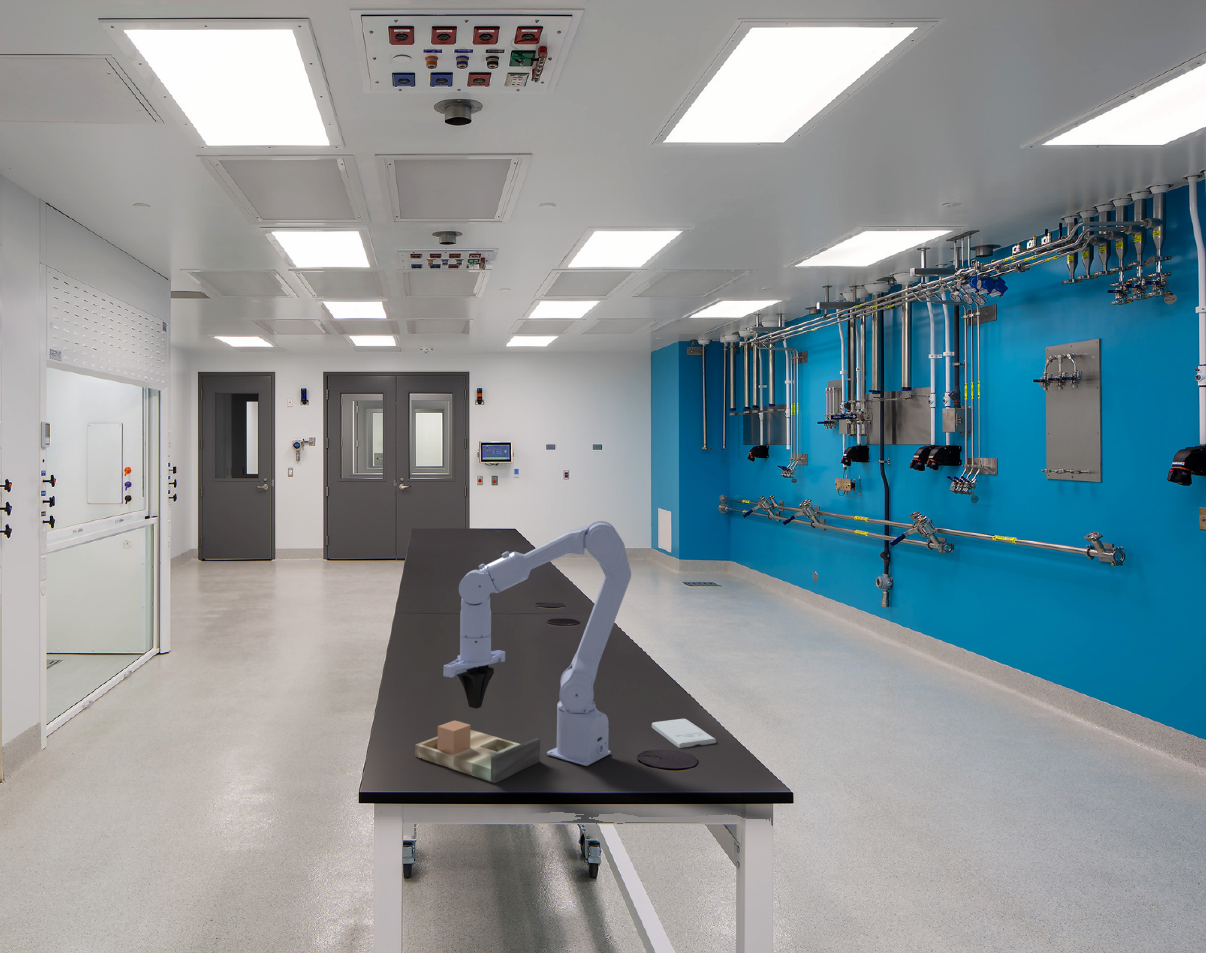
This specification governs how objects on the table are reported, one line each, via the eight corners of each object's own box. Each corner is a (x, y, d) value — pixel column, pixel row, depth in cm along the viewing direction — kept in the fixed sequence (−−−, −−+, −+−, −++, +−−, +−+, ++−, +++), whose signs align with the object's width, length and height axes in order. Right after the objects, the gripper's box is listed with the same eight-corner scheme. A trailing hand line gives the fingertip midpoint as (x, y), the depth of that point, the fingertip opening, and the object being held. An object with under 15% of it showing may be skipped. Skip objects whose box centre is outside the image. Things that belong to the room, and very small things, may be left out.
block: (470, 747, 143) (470, 725, 143) (453, 754, 139) (453, 731, 139) (454, 742, 145) (454, 720, 145) (437, 749, 142) (437, 726, 142)
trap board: (539, 761, 142) (540, 739, 142) (495, 783, 132) (495, 759, 132) (461, 738, 154) (461, 717, 154) (415, 756, 144) (415, 734, 144)
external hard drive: (686, 725, 165) (715, 746, 153) (651, 730, 162) (679, 751, 150) (686, 718, 165) (716, 737, 153) (651, 722, 162) (679, 742, 150)
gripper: (486, 625, 153) (486, 693, 154) (431, 638, 141) (431, 712, 142) (513, 630, 149) (513, 700, 150) (459, 644, 137) (458, 720, 138)
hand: (475, 706), depth 145 cm, fingers closed
